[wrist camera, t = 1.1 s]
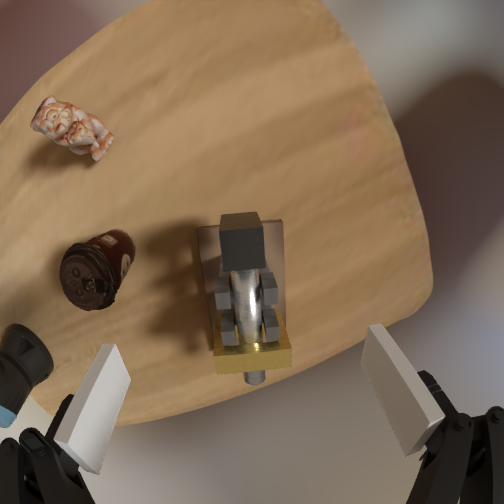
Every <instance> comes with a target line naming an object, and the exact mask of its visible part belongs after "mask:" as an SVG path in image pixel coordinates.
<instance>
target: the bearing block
mask: <svg viewBox="0 0 504 504" xmlns="http://www.w3.org/2000/svg"><path fill="white" fill-rule="evenodd" d="M261 223H262V225H263V230H264V246H265V262H266V268H261V269H258V273H259V288H260V302H261V317H262V323H263V324H264V329H265V335H263V343H264V342H271V341H276V340H280V335H279V324H278V320H277V316H276V313H275V309H280V312H281V315H282V318H283V322H284V325H285V328H286V306H285V266H284V237H283V221H282V220H281V219H280V220H268V221H261ZM219 226H220V225H213V226H203V227H198V228H197V238H198V245H199V252H200V259H201V265H202V272H203V278H204V285H205V291H206V297H207V303H208V309H209V314H210V320H211V325H212V331H213V336H215V322H216V315H219V314H222V316H221V336H222V342H223V346H225V345H231V346H233V345H239V338H238V337H236V332H235V325H237V322H236V314H235V306H234V298H233V289H232V281H231V272H223V264H222V256H221V247H220V238H219Z"/></svg>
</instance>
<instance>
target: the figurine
mask: <svg viewBox="0 0 504 504" xmlns="http://www.w3.org/2000/svg"><path fill="white" fill-rule="evenodd" d="M30 127H31V128H32V129H33V130H34V131H39V132H41V133H43V134H44V135H46V136H47V137H48V138H50V139H51V140H53V141H54V142H55V143H56V144H58V145H62V146H67V147H68V148H69V149H70V150H71V151H72V152H73V153H75V154H79V155H83V154H88V153H91V155H92V158H93V159H94V160H95V161H97V160H100V159H102V158H103V157H104V156H105V154H106V153H107V151H108V149H109V148H110V146H111V145H112V143H113V141H114V136H113V135H112V133H111V132H110V131H109V130H108V129H106V128H105V126H104V124H103V123H102V122H101V120H99V119H98V118H97V117H95V116H94V115H92V114H89V113H85V111H84V110H83V109H81V108H79V107H76V106H74V105H72V104H70V103H68V102H61V101H59V100H56V99H55V97H54V96H50V97H48V98H46V99H45V100H44V101H43V102H42V104H41V105H40V107H39V108H38V110H37V112H36V114H35V116H34V118H33V119H32V122H31V125H30Z"/></svg>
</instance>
